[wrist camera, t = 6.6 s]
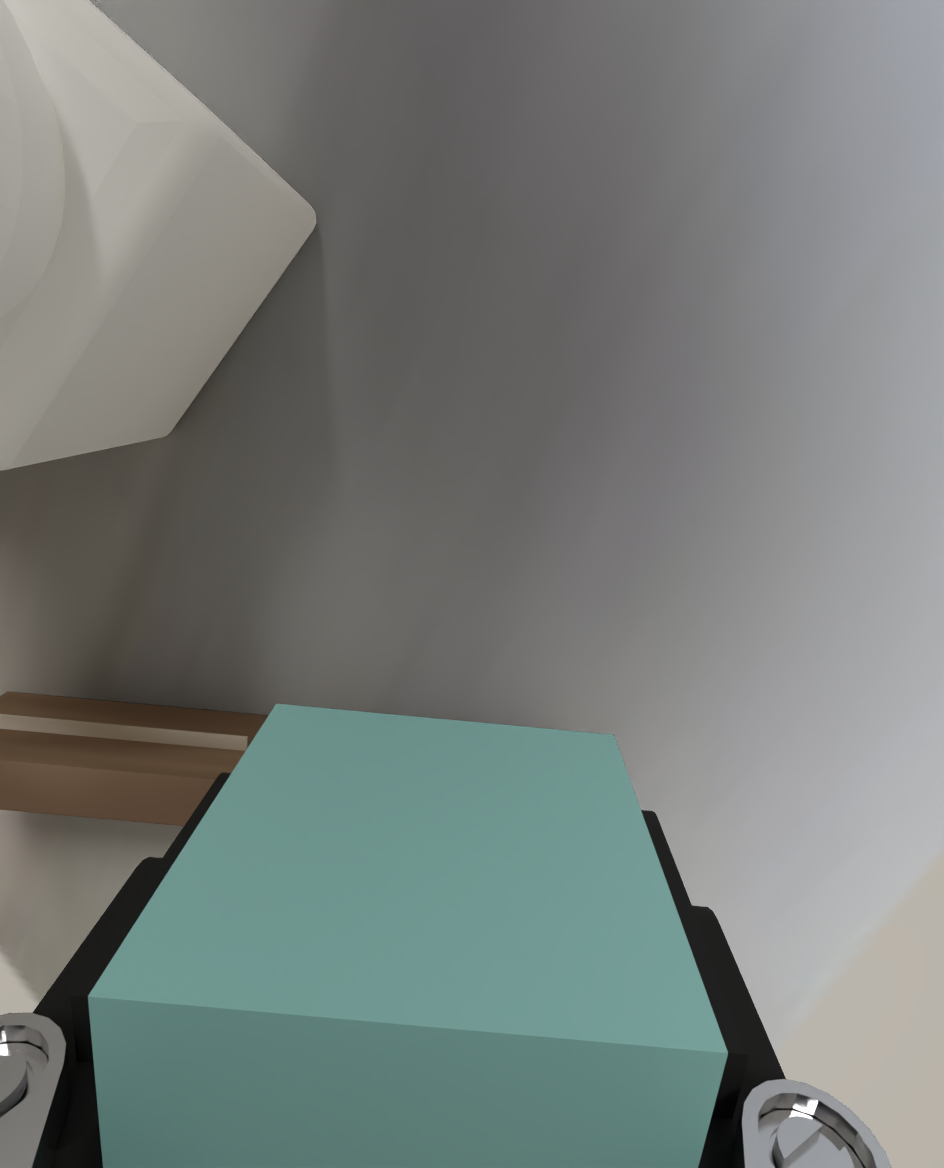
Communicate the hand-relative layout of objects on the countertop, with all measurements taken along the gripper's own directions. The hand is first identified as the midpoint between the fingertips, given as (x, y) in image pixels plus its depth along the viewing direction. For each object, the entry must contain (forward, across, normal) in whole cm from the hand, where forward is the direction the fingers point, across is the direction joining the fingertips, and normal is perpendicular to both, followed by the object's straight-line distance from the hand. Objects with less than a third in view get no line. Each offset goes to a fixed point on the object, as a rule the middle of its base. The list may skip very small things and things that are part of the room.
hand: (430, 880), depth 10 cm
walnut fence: (+10, +5, +4) cm, 12 cm away
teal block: (+1, 0, 0) cm, 1 cm away
